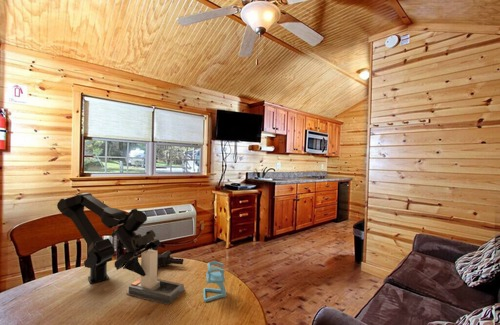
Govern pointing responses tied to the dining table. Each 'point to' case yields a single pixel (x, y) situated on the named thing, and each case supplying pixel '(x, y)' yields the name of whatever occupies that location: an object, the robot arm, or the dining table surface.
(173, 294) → the grey tray
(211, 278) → the chair
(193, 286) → the dining table surface
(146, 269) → the slider
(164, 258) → the black angular piece
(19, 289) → the dining table surface
